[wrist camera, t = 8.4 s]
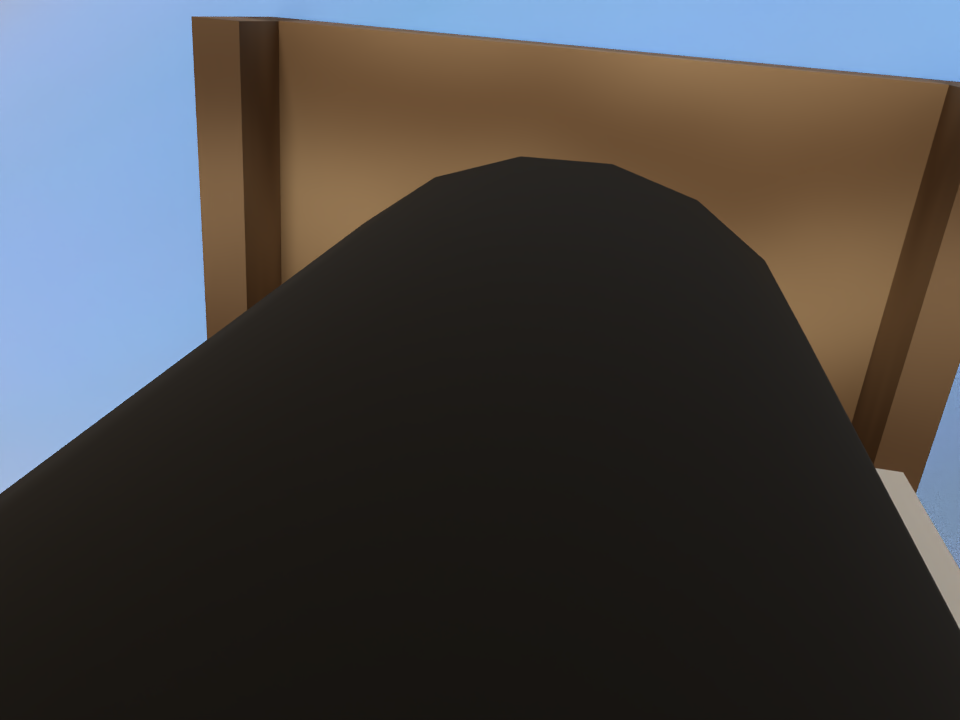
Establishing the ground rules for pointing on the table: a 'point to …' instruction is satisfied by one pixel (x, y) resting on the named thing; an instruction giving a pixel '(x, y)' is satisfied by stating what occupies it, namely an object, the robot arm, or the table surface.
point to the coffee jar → (482, 492)
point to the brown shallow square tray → (613, 140)
